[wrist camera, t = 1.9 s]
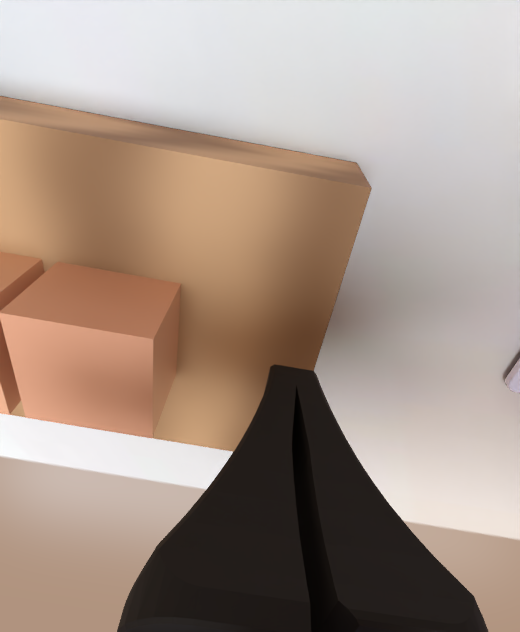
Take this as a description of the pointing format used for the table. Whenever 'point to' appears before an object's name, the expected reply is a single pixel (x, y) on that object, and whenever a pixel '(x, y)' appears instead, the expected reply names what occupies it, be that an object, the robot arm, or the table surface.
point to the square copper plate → (189, 243)
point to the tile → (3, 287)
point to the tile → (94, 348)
